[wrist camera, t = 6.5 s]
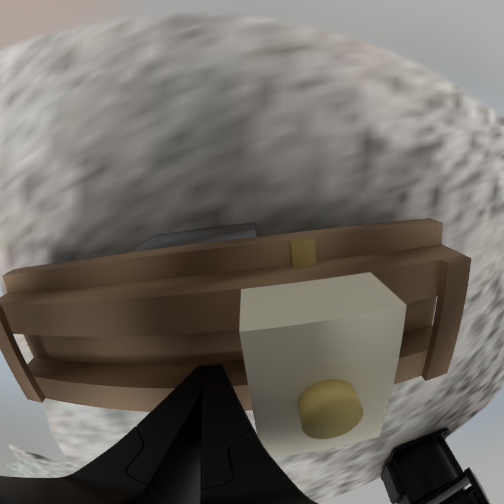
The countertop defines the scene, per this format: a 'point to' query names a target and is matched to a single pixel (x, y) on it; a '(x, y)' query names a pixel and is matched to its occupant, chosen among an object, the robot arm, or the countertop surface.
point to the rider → (320, 360)
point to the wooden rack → (211, 306)
